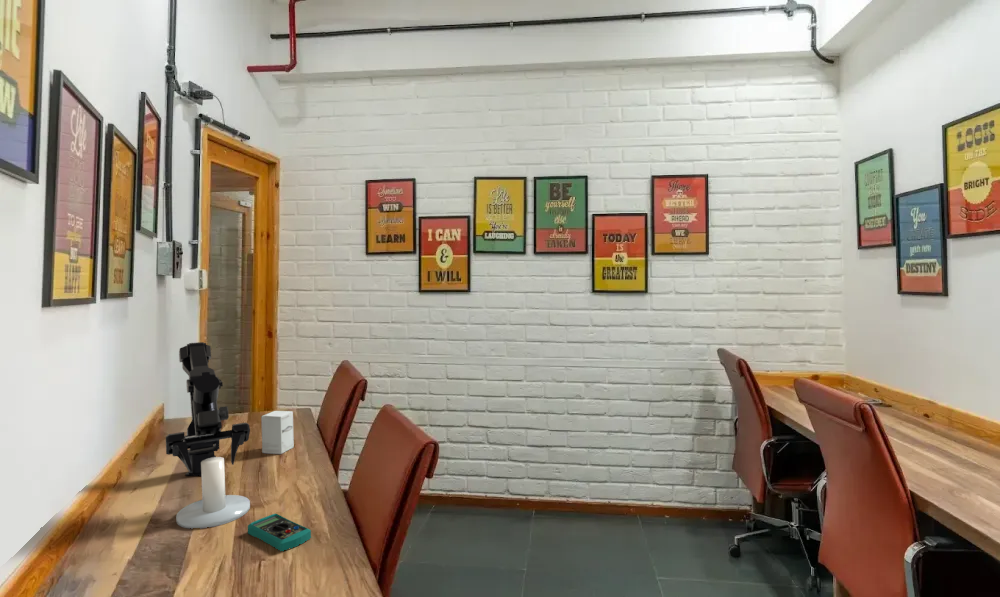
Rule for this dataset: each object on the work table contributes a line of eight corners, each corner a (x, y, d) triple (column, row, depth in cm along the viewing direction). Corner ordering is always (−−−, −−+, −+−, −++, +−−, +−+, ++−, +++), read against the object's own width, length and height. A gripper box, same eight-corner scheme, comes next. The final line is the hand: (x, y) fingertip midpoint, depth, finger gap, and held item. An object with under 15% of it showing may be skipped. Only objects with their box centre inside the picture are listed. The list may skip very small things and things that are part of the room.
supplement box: (281, 454, 173) (280, 416, 173) (261, 453, 175) (260, 415, 174) (294, 447, 181) (293, 410, 180) (275, 446, 182) (274, 410, 182)
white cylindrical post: (198, 510, 130) (196, 462, 129) (217, 502, 134) (216, 455, 133) (210, 514, 127) (208, 465, 127) (230, 506, 132) (228, 459, 131)
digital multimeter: (282, 555, 111) (282, 541, 111) (246, 535, 120) (246, 522, 120) (313, 541, 117) (313, 528, 117) (276, 523, 126) (276, 511, 126)
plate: (160, 528, 123) (160, 523, 123) (202, 499, 139) (202, 494, 139) (227, 528, 122) (227, 523, 122) (261, 499, 138) (261, 495, 138)
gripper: (164, 402, 129) (167, 459, 121) (247, 392, 140) (256, 444, 131) (164, 426, 136) (167, 482, 128) (244, 415, 147) (252, 465, 138)
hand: (212, 467), depth 131 cm, fingers open, 9 cm apart
